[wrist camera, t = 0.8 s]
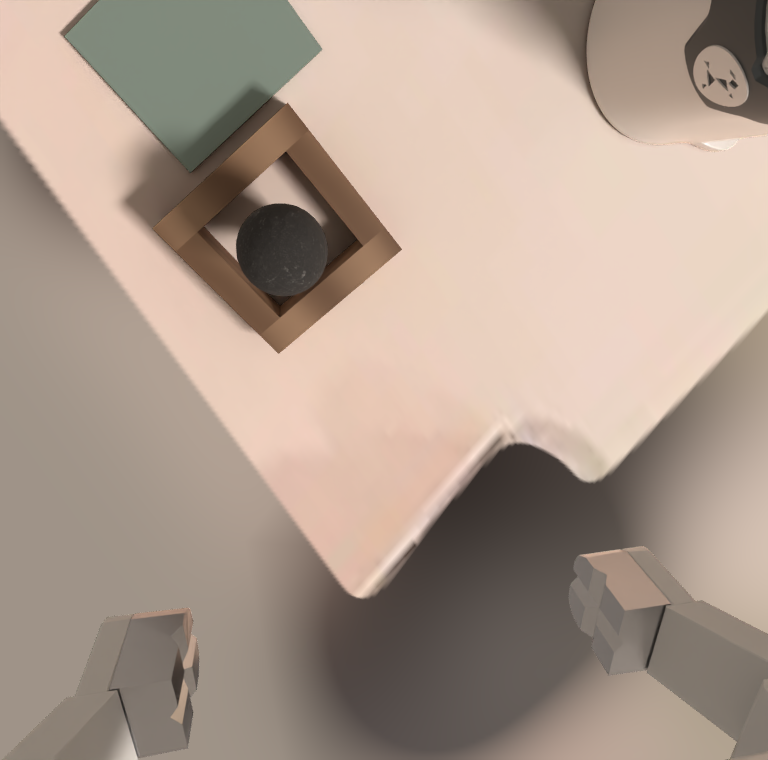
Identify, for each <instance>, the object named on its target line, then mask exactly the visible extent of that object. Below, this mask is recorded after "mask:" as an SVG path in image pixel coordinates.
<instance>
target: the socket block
mask: <svg viewBox="0 0 768 760" xmlns="http://www.w3.org/2000/svg"><path fill="white" fill-rule="evenodd" d="M284 152H287V153H288V154H289V156H290V157H291V158H292V159H293V161H294V162H295V163H296V164H297V165H298V167H299V168H300V169H301V170H302V172H303V173H304V174H305V175H306V177H307V178H308V179H309V180H310V181H311V183H312V184H313V185H314V186H315V188H316V189H317V190H318V191H319V192H320V194H321V195H322V196H323V197H324V199H325V200H326V201H327V202H328V203H329V205H330V206H331V207H332V208H333V210H334V211H335V212H336V213H337V215H338V216H339V217H340V218H341V219H342V221H343V222H344V223H345V224H346V226H347V227H348V228H349V229H350V230H351V232H352V233H353V234H354V235H355V237H356V238H357V239H358V240H356V241H355V242H354V243H353V244H352V245H351V246H349V247H348V248H347V249H346V250H345V251H344V252H342V253H341V254H340V255H339V256H338V257H337V258H335V259H334V260H333V261H332V262H331V263H330V264H329V265H327V266H326V267H325V269H324V272H323V274H322V275H321V277H320V278H319V280H318V281H317V282H316V283H315V284H314V285H313V286H312V287H310V288H309V289H307V290H306V291H304V292H302V293H299V294H296V295H293V296H291V297H290V298H289V299H288V300H287V301H286V302H284V303H283V304H282V305H281V306H279V305H278V304H277V302H276V301H275V300H274V299H273V298H272V297H271V296H270V295H269V294H268V293H266V292H264V291H262V290H260V289H258V288H257V287H256V286H254V285H253V284H252V283H251V282H250V281H249V280H248V279H247V278H246V276H245V275H244V273H243V272H242V270H241V267H240V265H239V263H238V262H237V261H236V260H235V259H234V258H233V257H232V256H231V254H230V253H229V252H228V251H227V250H226V249H225V248H224V247H223V246H222V245H221V244H220V243H219V242H218V241H217V240H216V239H215V238H214V237H213V236H212V235H211V234H210V233H209V232H208V230H207V229H206V228H205V227H204V226H205V225H206V224H207V223H208V222H209V221H210V220H211V219H212V218H213V217H214V216H215V215H217V214H218V213H219V212H220V211H221V210H222V209H223V208H224V207H225V206H226V205H228V204H229V203H230V202H231V201H232V200H233V199H234V198H235V197H236V196H237V195H238V194H240V193H241V192H242V191H243V190H244V189H245V188H246V187H247V186H248V185H249V184H251V183H252V182H253V181H254V180H255V179H256V178H257V177H258V176H259V175H260V174H261V173H263V172H264V171H265V170H266V169H267V168H268V167H269V166H270V165H271V164H272V163H273V162H275V161H276V160H277V159H278V158H279V157H280V156H281V155H282V154H283V153H284ZM152 229H153V230H154V231H155V232H156V233H157V234H158V235H159V236H160V237H161V238H162V239H163V240H164V241H165V242H166V243H167V244H168V245H169V246H170V247H171V248H172V249H173V250H174V251H175V252H176V253H177V254H178V255H179V256H180V257H181V258H182V259H183V260H184V261H185V262H186V263H187V264H188V265H189V266H190V267H191V268H192V269H193V270H194V271H195V272H196V273H197V274H198V275H199V276H201V277H202V278H203V279H204V280H205V281H206V282H207V283H208V284H209V285H210V286H211V287H212V288H213V289H214V290H215V291H216V292H217V293H218V294H219V295H220V296H221V297H222V298H223V299H224V300H225V301H226V302H227V303H228V304H229V305H230V306H231V307H232V308H233V309H234V310H235V311H236V312H237V313H238V314H239V315H240V316H241V317H242V318H243V319H244V320H245V321H246V322H247V323H248V324H249V325H250V326H251V327H252V328H253V329H254V330H255V331H256V332H257V333H258V334H259V335H260V336H261V337H262V338H263V339H264V340H265V341H266V342H267V343H268V344H269V345H270V346H271V347H272V348H273V349H274V350H275V351H276V352H277V353H278V354H279V353H280V352H281V351H283V350H284V349H285V348H286V347H287V346H288V345H290V344H291V343H292V342H293V341H294V340H296V339H297V338H298V337H299V336H300V335H301V334H303V333H304V332H305V331H306V330H307V329H309V328H310V327H311V326H312V325H313V324H314V323H316V322H317V321H318V320H319V319H320V318H322V317H323V316H324V315H325V314H326V313H327V312H329V311H330V310H331V309H332V308H333V307H335V306H336V305H337V304H338V303H339V302H340V301H342V300H343V299H344V298H345V297H346V296H348V295H349V294H350V293H351V292H352V291H353V290H355V289H356V288H357V287H358V286H359V285H361V284H362V283H363V282H364V281H365V280H366V279H368V278H369V277H370V276H371V275H372V274H374V273H375V272H376V271H377V270H378V269H379V268H381V267H382V266H383V265H384V264H385V263H386V262H388V261H389V260H390V259H391V258H392V257H394V256H395V255H396V254H397V253H398V252H399V251H401V250H402V249H401V248H400V246H399V245H398V244H397V242H396V241H395V240H394V239H393V237H392V236H391V235H390V233H389V232H388V231H387V230H386V228H385V227H384V226H383V225H382V223H381V222H380V221H379V219H378V218H377V217H376V216H375V214H374V213H373V212H372V210H371V209H370V208H369V207H368V205H367V204H366V203H365V201H364V200H363V199H362V198H361V196H360V195H359V194H358V192H357V191H356V190H355V189H354V187H353V186H352V185H351V183H350V182H349V181H348V180H347V178H346V177H345V176H344V174H343V173H342V172H341V171H340V169H339V168H338V167H337V165H336V164H335V163H334V162H333V160H332V159H331V158H330V156H329V155H328V154H327V153H326V151H325V150H324V149H323V148H322V146H321V145H320V144H319V142H318V141H317V140H316V139H315V137H314V136H313V135H312V133H311V132H310V131H309V130H308V128H307V127H306V126H305V124H304V123H303V122H302V121H301V119H300V118H299V117H298V115H297V114H296V113H295V112H294V110H293V109H292V108H291V106H290V105H289V104H288V103H287V104H286V105H285V106H284V107H282V108H281V109H280V110H279V111H278V112H277V113H276V114H275V115H274V116H273V117H272V118H271V119H270V120H268V121H267V122H266V123H265V124H264V125H263V126H262V127H261V128H260V129H259V130H258V131H257V132H256V133H254V134H253V135H252V136H251V137H250V138H249V139H248V140H247V141H246V142H245V143H244V144H243V145H242V146H240V147H239V148H238V149H237V150H236V151H235V152H234V153H233V154H232V155H231V156H230V157H229V158H228V159H226V160H225V161H224V162H223V163H222V164H221V165H220V166H219V167H218V168H217V169H216V170H215V171H214V172H212V173H211V174H210V175H209V176H208V177H207V178H206V179H205V180H204V181H203V182H202V183H201V184H200V185H198V186H197V187H196V188H195V189H194V190H193V191H192V192H191V193H190V194H189V195H188V196H187V197H186V198H185V199H183V200H182V201H181V202H180V203H179V204H178V205H177V206H176V207H175V208H174V209H173V210H172V211H171V212H169V213H168V214H167V215H166V216H165V217H164V218H163V219H162V220H161V221H160V222H159V223H158V224H157V225H155V226H154V227H153V228H152Z"/></svg>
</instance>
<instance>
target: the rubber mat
mask: <svg viewBox="0 0 768 760" xmlns="http://www.w3.org/2000/svg"><path fill="white" fill-rule="evenodd" d="M65 38H66V39H67V40H68V41H69V42H70V43H71V44H72V45H73V46H74V47H75V48H76V49H77V51H78V52H79V53H80V54H81V55H82V56H83V57H84V58H85V59H86V60H87V61H88V62H89V64H90V65H91V66H92V67H93V68H94V69H95V70H96V71H97V72H98V73H99V74H100V75H101V77H102V78H103V79H104V80H105V81H106V82H107V83H108V84H109V85H110V86H111V87H112V88H113V90H114V91H115V92H116V93H117V94H118V95H119V96H120V97H121V98H122V99H123V100H124V102H125V103H126V104H127V105H128V106H129V107H130V108H131V109H132V110H133V111H134V112H135V113H136V115H137V116H138V117H139V118H140V119H141V120H142V121H143V122H144V123H145V124H146V125H147V126H148V128H149V129H150V130H151V131H152V132H153V133H154V134H155V135H156V136H157V137H158V138H159V139H160V141H161V142H162V143H163V144H164V145H165V146H166V147H167V148H168V149H169V150H170V151H171V152H172V154H173V155H174V156H175V157H176V158H177V159H178V160H179V161H180V162H181V163H182V164H183V165H184V167H185V168H186V169H187V170H188V171H189V172H190V173H191V172H192V171H193V170H194V169H195V168H196V167H198V166H199V165H200V164H201V163H202V162H203V161H204V160H205V159H206V158H207V157H208V156H209V155H210V154H211V153H212V152H214V151H215V150H216V149H217V148H218V147H219V146H220V145H221V144H222V143H223V142H224V141H225V140H226V139H227V138H228V137H230V136H231V135H232V134H233V133H234V132H235V131H236V130H237V129H238V128H239V127H240V126H241V125H242V124H243V123H244V122H246V121H247V120H248V119H249V118H250V117H251V116H252V115H253V114H254V113H255V112H256V111H257V110H258V109H259V108H261V107H262V106H263V105H264V104H265V103H266V102H267V101H268V100H269V99H270V98H271V97H272V96H273V95H274V94H275V93H277V92H278V91H279V90H280V89H281V88H282V87H283V86H284V85H285V84H286V83H287V82H288V81H289V80H290V79H291V78H293V77H294V76H295V75H296V74H297V73H298V72H299V71H300V70H301V69H302V68H303V67H304V66H305V65H306V64H308V63H309V62H310V61H311V60H312V59H313V58H314V57H315V56H316V55H317V54H318V53H319V52H320V51H321V50H322V48H321V47H320V45H319V44H318V43H317V41H316V40H315V38H314V37H313V36H312V34H311V33H310V31H309V30H308V29H307V27H306V26H305V24H304V23H303V22H302V20H301V19H300V17H299V16H298V15H297V13H296V12H295V10H294V9H293V8H292V6H291V5H290V3H289V2H288V1H287V0H99V1H98V2H97V3H96V4H95V5H94V6H93V7H92V8H91V9H90V10H89V11H88V12H87V13H86V14H85V15H84V16H83V17H82V19H81V20H80V21H79V22H78V23H77V24H76V25H75V26H74V27H73V28H72V29H71V30H70V31H69V32H68V33H67V34H66V35H65Z"/></svg>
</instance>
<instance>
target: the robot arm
mask: <svg viewBox="0 0 768 760" xmlns="http://www.w3.org/2000/svg"><path fill="white" fill-rule="evenodd" d="M587 69H588V75H589V80H590V85H591V88H592V91H593V94H594V97H595V99H596V102H597V104H598V106H599V108H600V109H601V111H602V113H603V114H604V116H605V117H606V118H607V120H608V121H609V122H610V123H611V124H612V125H613V126H614V127H615V128H616V129H617V130H618V131H619V132H621V133H622V134H624V135H625V136H627V137H629V138H631V139H633V140H635V141H638V142H641V143H645V144H651V145H667V144H676V143H690V144H692V145H694V146H696V147H698V148H701V149H703V150H706V151H710V152H718V151H725V150H728V149H730V148H732V147H733V146H734V145H735V144H736V143H737V142H738V141H739V140H740V139H743V138H752V137H760V136H768V0H595V3H594V6H593V10H592V13H591V18H590V22H589V28H588V35H587ZM573 569H574V571H575V572H576V574H577V575H578V577H577V578H576V579H575V580H574V581H573V582H572V583H571V584H570V591H569V602H570V609H571V612H572V614H573V617H574V620H575V621H576V623H577V625H578V626H579V628H580V630H582V631H583V632H585V633H586V634H588V635H589V636H591V637H593V639H592V649H593V651H594V653H595V654H596V656H597V658H598V659H599V661H600V662H601V664H602V666H603V667H604V669H605V670H606V672H607V673H608V675H615V674H623V673H630V672H635V671H636V672H637V671H643V670H647V673H648V674H650V675H651V676H652V677H654V678H655V679H656V680H657V681H659V682H660V683H661V684H663V685H664V686H665V687H666V688H668V689H669V690H670V691H672V692H673V693H674V694H676V695H677V696H678V697H679V698H681V699H682V700H683V701H685V702H686V703H687V704H689V705H690V706H691V707H693V708H694V709H695V710H696V711H698V712H699V713H700V714H702V715H703V716H704V717H706V718H707V719H708V720H710V721H711V722H712V723H713V724H715V725H716V726H717V727H719V728H720V729H721V730H723V731H724V732H725V733H726V734H728V735H729V736H730V737H732V738H733V739H734V740H736V741H737V743H736V745H735V748H734V750H733V752H732V755H731V757H730V759H727V760H768V634H767V633H765V632H763V631H761V630H759V629H757V628H755V627H753V626H751V625H749V624H747V623H745V622H743V621H741V620H739V619H738V618H735V617H734V616H732V615H730V614H728V613H726V612H724V611H722V610H720V609H718V608H716V607H714V606H712V605H710V604H708V603H706V602H704V601H695V600H694V599H693V598H692V597H691V596H690V595H689V594H688V592H687V591H686V590H685V589H684V588H683V587H682V586H681V585H680V584H679V582H678V581H677V580H676V579H675V578H674V577H673V576H672V575H671V574H670V572H669V571H668V570H667V569H666V568H665V567H664V566H663V565H662V564H661V562H660V561H659V560H658V559H657V558H656V557H655V556H654V555H653V554H652V553H651V552H650V550H649V549H647V548H645V547H643V546H640V547H633V548H626V549H621V550H612V551H605V552H598V553H592V554H584V555H579V556H578V557H577V558H576V560H575V563H574V568H573ZM192 626H193V618H192V614H191V610H190V609H189V608H181V609H172V610H162V611H153V612H145V613H135V614H130V615H122V616H112V617H107V618H106V619H105V620H104V622H103V623H102V624H101V626H100V629H99V632H98V635H97V637H96V640H95V643H94V646H93V648H92V651H91V654H90V656H89V659H88V662H87V664H86V667H85V670H84V672H83V675H82V678H81V680H80V683H79V686H78V689H77V691H76V694H75V696H74V697H69V698H66V699H64V700H63V701H62V702H61V703H60V704H59V705H58V706H57V707H56V708H55V709H54V710H53V711H52V712H51V713H50V714H49V715H48V716H47V717H46V718H45V719H44V720H43V721H42V722H41V723H40V724H38V725H37V726H36V727H35V728H34V729H33V730H32V731H31V732H30V733H29V734H28V735H27V736H26V737H25V738H24V739H23V740H22V741H21V742H20V743H19V744H18V745H17V746H16V747H15V748H14V749H13V750H12V751H11V752H10V753H9V754H8V755H7V756H6V757H5V758H4V759H3V760H138V758H142V757H147V756H152V755H157V754H162V753H167V752H171V751H177V750H181V749H186V748H188V743H189V737H190V731H191V724H192V718H193V709H192V705H191V699H190V697H191V696H192V695H193V694H194V692H195V691H196V690H197V684H198V677H199V649H198V643H197V638H196V637H195V636H193V635H192V634H191V632H192Z"/></svg>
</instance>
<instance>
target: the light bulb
mask: <svg viewBox="0 0 768 760" xmlns="http://www.w3.org/2000/svg"><path fill="white" fill-rule="evenodd" d="M236 250H237V259H238V262H239V265H240V267H241V270H242V272H243V273H244V275H245V276H246V278H247V279H248V280H249V281H250V282H251V283H252V284H253V285H254V286H256V287H257V288H258V289H260V290H262V291H264V292H266V293H268V294H272V295H276V296H292V295H296V294H299V293H302V292H304V291H306V290H307V289H309V288H310V287H312V286H313V285H314V284H315V283H316V282H317V281H318V280H319V278H320V277H321V275H322V274H323V272H324V269H325V266H326V263H327V257H328V247H327V241H326V237H325V234H324V232H323V230H322V228H321V226H320V224H319V223H318V222H317V221H316V220H315V218H314V217H313V216H311V215H310V214H309V213H308V212H306V211H305V210H303V209H301V208H299V207H297V206H294V205H289V204H271V205H267V206H264V207H261V208H260V209H258V210H256V211H254V212H253V213H252V214H251V215H250V216H249V217H248V218H247V219H246V220H245V222H244V223H243V224H242V226H241V228H240V230H239V233H238V237H237V241H236Z"/></svg>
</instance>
